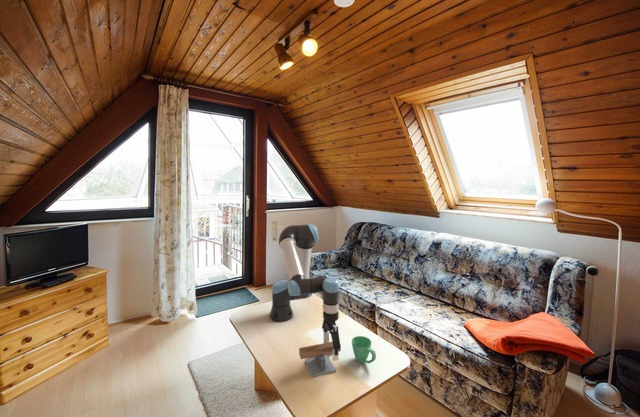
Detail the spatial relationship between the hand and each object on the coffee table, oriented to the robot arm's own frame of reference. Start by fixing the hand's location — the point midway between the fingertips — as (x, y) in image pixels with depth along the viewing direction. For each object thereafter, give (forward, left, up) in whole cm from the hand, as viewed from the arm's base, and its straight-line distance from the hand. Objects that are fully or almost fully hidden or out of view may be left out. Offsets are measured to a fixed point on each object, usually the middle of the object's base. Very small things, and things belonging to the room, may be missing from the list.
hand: (330, 352), depth 142 cm
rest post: (-9, 0, -6) cm, 11 cm away
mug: (+4, +16, -7) cm, 18 cm away
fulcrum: (0, -6, -6) cm, 8 cm away
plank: (0, -6, +1) cm, 6 cm away
